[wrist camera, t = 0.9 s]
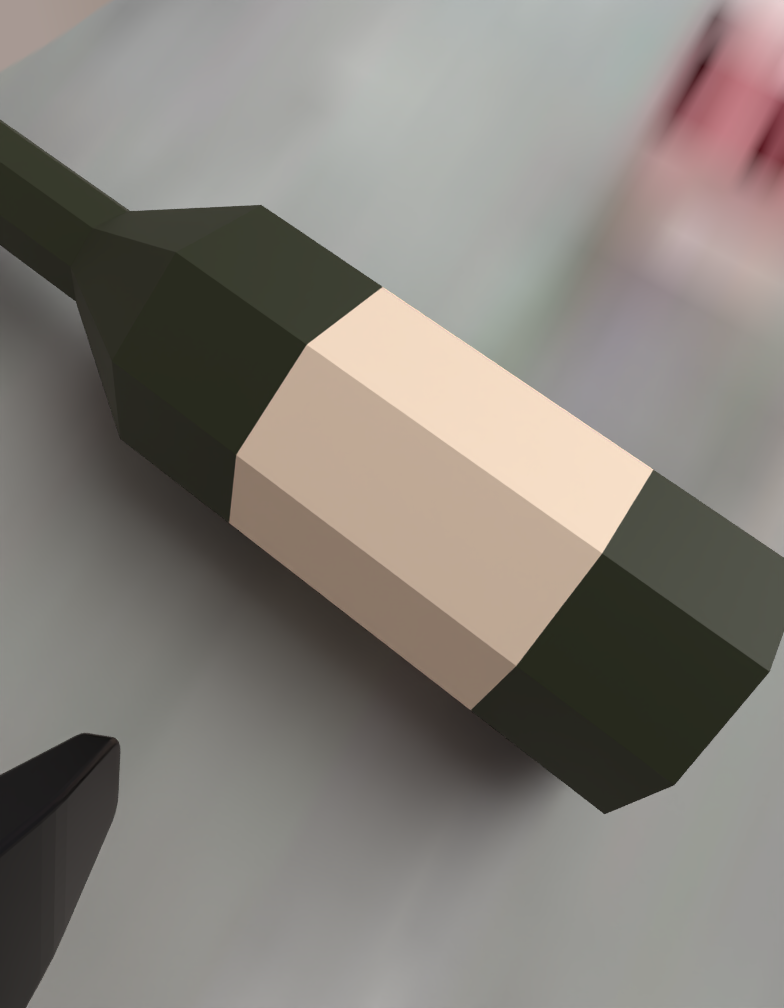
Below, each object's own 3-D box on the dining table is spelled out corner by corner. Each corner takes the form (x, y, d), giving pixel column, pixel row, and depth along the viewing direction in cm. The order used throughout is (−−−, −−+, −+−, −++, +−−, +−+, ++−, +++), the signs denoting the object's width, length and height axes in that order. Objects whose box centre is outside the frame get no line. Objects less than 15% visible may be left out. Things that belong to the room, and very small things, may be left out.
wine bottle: (861, 518, 16) (-72, -90, 21) (665, 844, 14) (-307, 94, 19) (703, 581, 24) (56, 131, 29) (565, 794, 22) (-101, 276, 27)
